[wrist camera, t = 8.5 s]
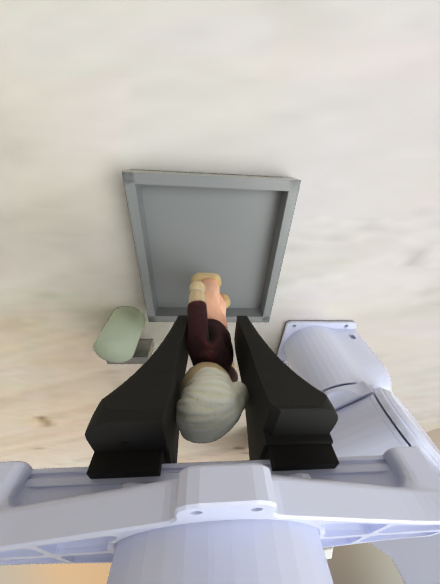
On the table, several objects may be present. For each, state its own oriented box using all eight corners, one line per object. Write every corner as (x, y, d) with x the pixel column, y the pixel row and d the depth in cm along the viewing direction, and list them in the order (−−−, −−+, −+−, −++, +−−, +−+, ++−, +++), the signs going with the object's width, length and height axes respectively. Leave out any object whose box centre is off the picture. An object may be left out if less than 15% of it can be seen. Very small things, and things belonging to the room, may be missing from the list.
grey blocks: (152, 339, 28) (147, 357, 26) (161, 387, 34) (157, 406, 32) (114, 339, 28) (105, 357, 26) (129, 388, 34) (123, 406, 32)
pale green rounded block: (142, 306, 25) (130, 336, 21) (147, 330, 28) (136, 362, 23) (108, 305, 25) (88, 336, 21) (115, 330, 27) (99, 362, 23)
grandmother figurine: (171, 274, 19) (100, 398, 7) (208, 252, 18) (193, 353, 7) (216, 335, 22) (214, 495, 10) (249, 319, 21) (289, 471, 9)
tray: (291, 177, 19) (301, 180, 17) (264, 309, 27) (268, 322, 25) (131, 169, 18) (121, 171, 16) (153, 308, 26) (148, 321, 24)
